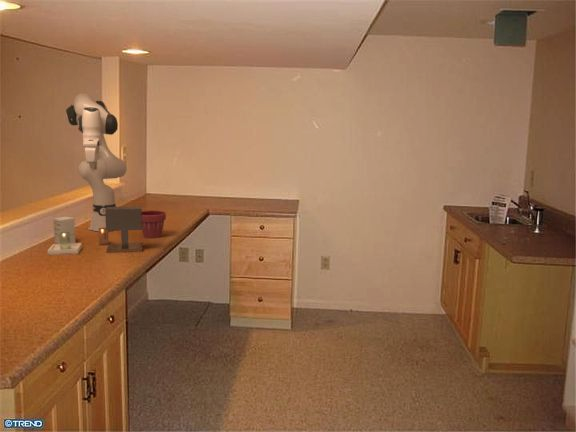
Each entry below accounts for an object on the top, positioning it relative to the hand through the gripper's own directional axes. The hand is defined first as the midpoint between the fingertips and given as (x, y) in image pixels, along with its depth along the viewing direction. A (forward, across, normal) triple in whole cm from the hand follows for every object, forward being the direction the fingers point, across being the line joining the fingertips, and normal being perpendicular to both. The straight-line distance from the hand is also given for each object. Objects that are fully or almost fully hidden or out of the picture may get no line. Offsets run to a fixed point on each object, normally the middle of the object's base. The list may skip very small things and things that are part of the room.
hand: (93, 170), depth 276 cm
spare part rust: (+36, +2, +4) cm, 36 cm away
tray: (+36, +14, -12) cm, 41 cm away
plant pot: (+36, -13, +27) cm, 47 cm away
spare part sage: (+35, +14, -12) cm, 40 cm away
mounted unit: (+36, +14, +15) cm, 41 cm away
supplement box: (+37, -4, -15) cm, 40 cm away
